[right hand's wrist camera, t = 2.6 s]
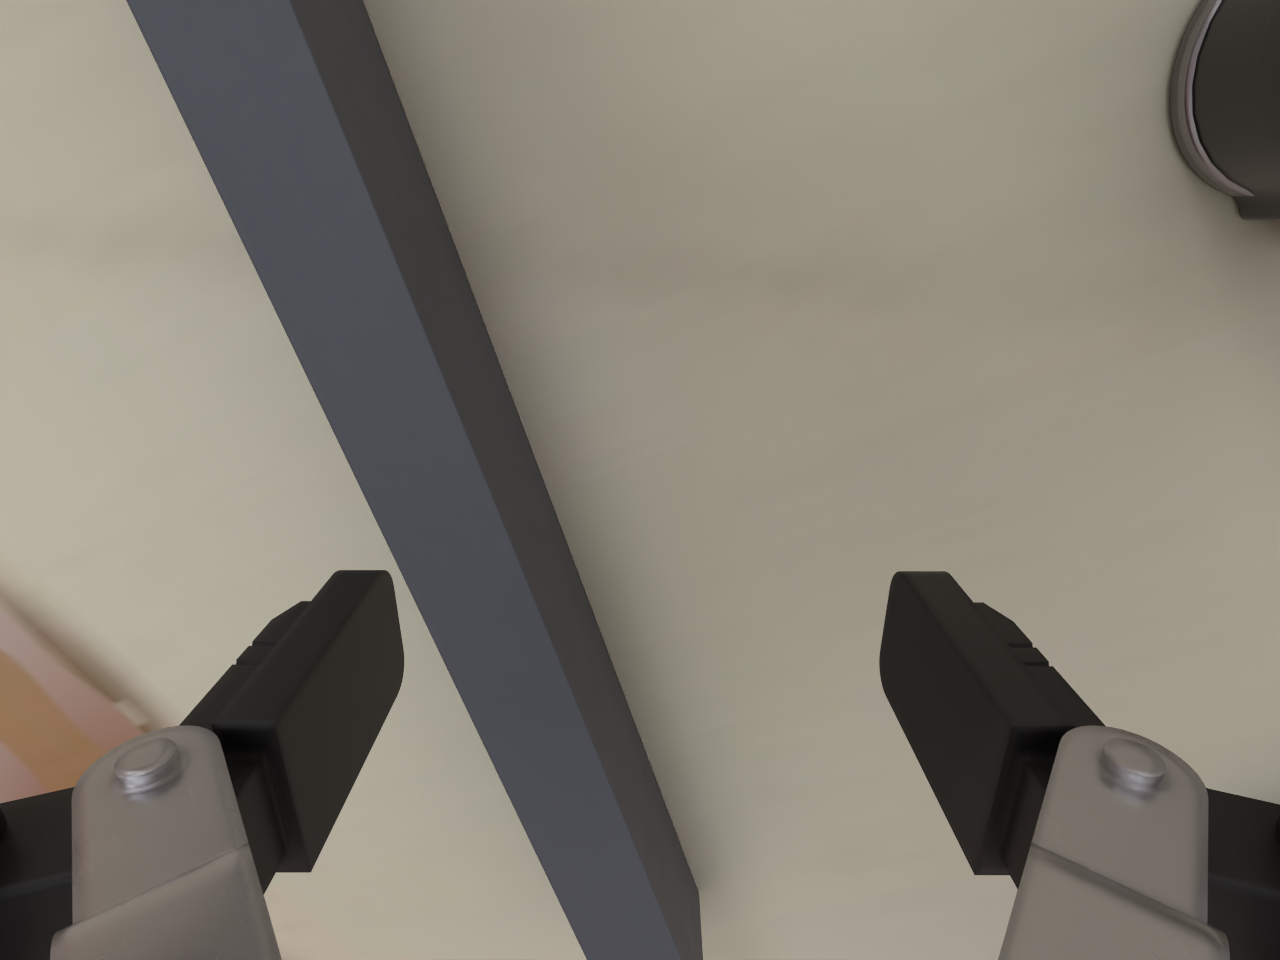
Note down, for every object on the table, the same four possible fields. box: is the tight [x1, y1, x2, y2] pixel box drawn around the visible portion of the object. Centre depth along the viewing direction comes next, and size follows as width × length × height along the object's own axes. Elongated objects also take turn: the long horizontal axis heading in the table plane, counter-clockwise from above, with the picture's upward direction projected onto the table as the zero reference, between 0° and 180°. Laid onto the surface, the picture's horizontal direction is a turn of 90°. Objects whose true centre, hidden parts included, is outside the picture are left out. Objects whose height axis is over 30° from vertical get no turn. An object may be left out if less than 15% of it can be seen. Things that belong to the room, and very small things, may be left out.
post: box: [127, 0, 703, 960], centre depth 27 cm, size 73×4×7 cm, turn 17°
